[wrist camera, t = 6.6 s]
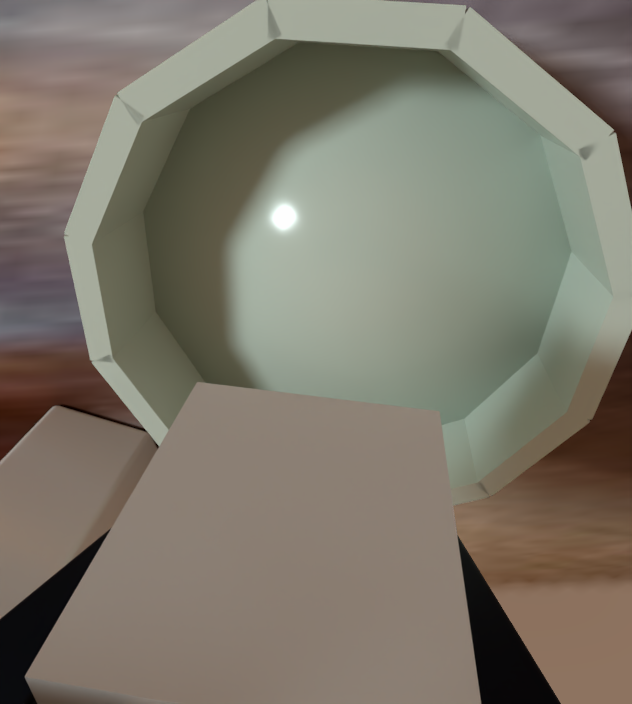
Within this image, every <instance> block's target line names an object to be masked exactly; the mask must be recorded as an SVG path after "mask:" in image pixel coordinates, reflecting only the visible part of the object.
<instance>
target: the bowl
mask: <svg viewBox="0 0 632 704" xmlns="http://www.w3.org/2000/svg"><path fill="white" fill-rule="evenodd" d="M117 94H118V95H115V97H114V99H113V102H112V105H111V107H110V110H109V113H108V116H107V118H106V121H105V124H104V126H103V129H102V132H101V135H100V137H99V140H98V143H97V145H96V148H95V151H94V154H93V156H92V159H91V162H90V164H89V167H88V170H87V172H86V175H85V178H84V181H83V183H82V186H81V189H80V191H79V194H78V197H77V200H76V202H75V205H74V208H73V210H72V213H71V216H70V219H69V221H68V224H67V227H66V229H65V232H64V234H66V235H65V236H64V239H65V244H66V248H67V253H68V258H69V262H70V267H71V272H72V276H73V281H74V286H75V290H76V295H77V300H78V304H79V309H80V314H81V318H82V323H83V328H84V333H85V337H86V342H87V347H88V351H89V356H90V360H93V361H92V364H93V365H94V366H95V367H96V369H97V370H98V371H99V372H100V374H101V375H102V376H103V377H104V379H105V380H106V381H107V382H108V383H109V385H110V386H111V387H112V388H113V390H114V391H115V392H116V393H117V395H118V396H119V397H120V398H121V400H122V401H123V402H124V403H125V405H126V406H127V407H128V408H129V410H130V411H131V412H132V413H133V415H134V416H135V417H136V418H137V419H138V421H139V422H140V423H141V424H142V426H143V427H144V428H145V429H146V431H147V432H148V433H149V434H150V436H151V437H152V438H153V439H154V441H155V442H156V443H157V444H158V446H160V444H161V443H162V441H163V439H164V438H165V436H166V434H167V432H168V431H169V429H170V427H171V426H172V424H173V422H174V421H175V419H176V417H177V415H178V414H179V412H180V410H181V409H182V407H183V405H184V403H185V402H186V400H187V398H188V397H189V395H190V393H191V392H192V390H193V388H194V386H195V385H196V383H197V382H202V383H210V384H218V385H227V386H235V387H243V388H252V389H260V390H268V391H276V392H285V393H293V394H301V395H309V396H318V397H326V398H334V399H342V400H351V401H359V402H367V403H376V404H384V405H392V406H400V407H409V408H417V409H425V410H433V411H440V418H441V425H442V432H443V439H444V446H445V453H446V460H447V467H448V474H449V481H450V488H451V495H452V502H453V506H454V505H458V504H462V503H466V502H471V501H475V500H479V499H484V498H488V497H490V496H489V495H491V496H493V495H494V494H495V493H497V492H498V491H499V490H501V489H502V488H503V487H505V486H506V485H507V484H509V483H510V482H511V481H513V480H514V479H515V478H517V477H518V476H519V475H520V474H522V473H523V472H524V471H526V470H527V469H528V468H530V467H531V466H532V465H534V464H535V463H536V462H538V461H539V460H540V459H542V458H543V457H544V456H546V455H547V454H548V453H550V452H551V451H552V450H554V449H555V448H556V447H558V446H559V445H560V444H562V443H563V442H564V441H566V440H567V439H568V438H570V437H571V436H572V435H574V434H575V433H576V432H578V431H579V430H580V429H582V428H583V427H584V426H586V425H587V424H588V423H589V422H590V420H592V419H593V417H594V414H595V412H596V410H597V407H598V405H599V403H600V401H601V398H602V396H603V394H604V392H605V389H606V387H607V385H608V383H609V380H610V378H611V376H612V373H613V371H614V369H615V367H616V364H617V362H618V360H619V358H620V355H621V353H622V351H623V349H624V346H625V344H626V342H627V340H628V337H629V335H630V333H631V330H632V209H631V205H630V200H629V195H628V190H627V185H626V180H625V175H624V170H623V165H622V160H621V155H620V150H619V145H618V141H617V136H616V133H614V132H613V131H614V129H612V128H611V127H610V126H609V125H608V124H607V123H605V122H604V121H603V120H602V119H601V118H600V117H598V116H597V115H596V114H595V113H594V112H593V111H591V110H590V109H589V108H588V107H587V106H586V105H584V104H583V103H582V102H581V101H580V100H578V99H577V98H576V97H575V96H574V95H573V94H571V93H570V92H569V91H568V90H567V89H566V88H564V87H563V86H562V85H561V84H560V83H559V82H557V81H556V80H555V79H554V78H553V77H552V76H550V75H549V74H548V73H547V72H546V71H544V70H543V69H542V68H541V67H540V66H539V65H537V64H536V63H535V62H534V61H533V60H532V59H530V58H529V57H528V56H527V55H526V54H525V53H523V52H522V51H521V50H520V49H519V48H518V47H516V46H515V45H514V44H513V43H512V42H511V41H509V40H508V39H507V38H506V37H505V36H503V35H502V34H501V33H500V32H499V31H498V30H496V29H495V28H494V27H493V26H492V25H491V24H489V23H488V22H487V21H486V20H485V19H484V18H482V17H481V16H480V15H479V14H478V13H477V12H475V11H474V10H473V9H472V8H471V7H469V8H467V9H466V5H449V4H432V3H414V2H397V1H379V0H256V1H255V2H253V3H252V4H250V5H249V6H247V7H246V8H244V9H243V10H241V11H240V12H238V13H237V14H235V15H234V16H232V17H231V18H229V19H228V20H226V21H225V22H223V23H222V24H220V25H219V26H217V27H216V28H214V29H213V30H211V31H209V32H208V33H206V34H205V35H203V36H202V37H200V38H199V39H197V40H196V41H194V42H193V43H191V44H190V45H188V46H187V47H185V48H184V49H182V50H181V51H179V52H178V53H176V54H175V55H173V56H172V57H170V58H169V59H167V60H166V61H164V62H163V63H161V64H160V65H158V66H157V67H155V68H154V69H152V70H151V71H149V72H148V73H146V74H145V75H143V76H142V77H140V78H139V79H137V80H136V81H134V82H133V83H131V84H130V85H128V86H127V87H125V88H124V89H122V90H121V91H119V92H118V93H117Z"/></svg>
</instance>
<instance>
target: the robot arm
mask: <svg viewBox="0 0 632 704" xmlns="http://www.w3.org/2000/svg"><path fill="white" fill-rule="evenodd" d="M110 530H111V528H110V529H109V530H108V531H107V532H106V533H104V534H103V535H102V536H101V537H99V538H98V539H97V540H96V541H95V542H93V543H92V544H91V545H90V546H88V547H87V548H86V549H85V550H84V551H82V552H81V553H80V554H79V555H77V556H76V557H75V558H74V559H73V560H71V561H70V562H69V563H68V564H66V565H65V566H64V567H63V568H62V569H60V570H59V571H58V572H57V573H55V574H54V575H53V576H52V577H51V578H49V579H48V580H47V581H46V582H44V583H43V584H42V585H41V586H40V587H38V588H37V589H36V590H35V591H33V592H32V593H31V594H30V595H29V596H27V597H26V598H25V599H24V600H22V601H21V602H20V603H19V604H18V605H16V606H15V607H14V608H13V609H11V610H10V611H9V612H8V613H7V614H5V615H4V616H3V617H2V618H0V704H37V702H36V700H35V698H34V696H33V694H32V692H31V690H30V687H29V685H28V683H27V681H26V679H25V675H26V673H27V672H28V670H29V668H30V666H31V665H32V663H33V661H34V660H35V658H36V656H37V654H38V653H39V651H40V649H41V648H42V646H43V644H44V642H45V641H46V639H47V637H48V636H49V634H50V632H51V631H52V629H53V627H54V625H55V624H56V622H57V620H58V619H59V617H60V615H61V613H62V612H63V610H64V608H65V607H66V605H67V603H68V602H69V600H70V598H71V596H72V595H73V593H74V591H75V590H76V588H77V586H78V584H79V583H80V581H81V579H82V578H83V576H84V574H85V572H86V571H87V569H88V567H89V566H90V564H91V562H92V561H93V559H94V557H95V555H96V554H97V552H98V550H99V549H100V547H101V545H102V543H103V542H104V540H105V538H106V537H107V535H108V533H109V532H110ZM457 537H458V535H457ZM458 544H459V551H460V558H461V565H462V572H463V579H464V586H465V593H466V600H467V607H468V614H469V621H470V628H471V635H472V642H473V649H474V656H475V663H476V670H477V677H478V684H479V691H480V698H481V704H561V703H560V702H559V700H558V698H557V697H556V695H555V693H554V692H553V690H552V688H551V687H550V685H549V683H548V682H547V680H546V679H545V677H544V675H543V674H542V672H541V670H540V669H539V667H538V666H537V664H536V662H535V661H534V659H533V657H532V656H531V654H530V652H529V651H528V649H527V648H526V646H525V644H524V643H523V641H522V639H521V638H520V636H519V635H518V633H517V631H516V630H515V628H514V626H513V625H512V623H511V622H510V620H509V618H508V617H507V615H506V613H505V612H504V610H503V609H502V607H501V605H500V604H499V602H498V600H497V599H496V597H495V595H494V594H493V592H492V591H491V589H490V587H489V586H488V584H487V582H486V581H485V579H484V578H483V576H482V574H481V573H480V571H479V569H478V568H477V566H476V565H475V563H474V561H473V560H472V558H471V556H470V555H469V553H468V551H467V550H466V548H465V547H464V545H463V543H462V542H461V540H460V538H459V537H458Z"/></svg>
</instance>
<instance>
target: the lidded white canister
mask: <svg viewBox="0 0 632 704" xmlns="http://www.w3.org/2000/svg"><path fill="white" fill-rule="evenodd" d="M157 450H158V448H157V446H156V444H155V442H154V441H153V439H152V437H151V436H150V434H149V433H148V432H145V431H142V430H139V429H135V428H132V427H129V426H126V425H122V424H119V423H116V422H112V421H109V420H106V419H102V418H99V417H96V416H92V415H89V414H86V413H82V412H79V411H76V410H72V409H69V408H66V407H63V406H58V405H57V406H53V407H52V408H51V409H50V410H49V411H48V412H47V413H46V414H45V415H44V416H43V417H42V418H41V419H40V420H39V421H38V422H37V423H36V424H35V425H34V426H33V427H32V429H31V430H30V431H29V432H28V433H27V434H26V435H25V436H24V437H23V438H22V439H21V440H20V441H19V442H18V443H17V444H16V445H15V446H14V447H13V448H12V449H11V450H10V451H9V452H8V453H7V455H6V456H5V457H4V458H3V459H2V460H1V461H0V618H2V617H3V616H4V615H5V614H7V613H8V612H9V611H10V610H11V609H13V608H14V607H15V606H16V605H18V604H19V603H20V602H21V601H22V600H24V599H25V598H26V597H27V596H29V595H30V594H31V593H32V592H33V591H35V590H36V589H37V588H38V587H40V586H41V585H42V584H43V583H44V582H46V581H47V580H48V579H49V578H51V577H52V576H53V575H54V574H55V573H57V572H58V571H59V570H60V569H62V568H63V567H64V566H65V565H66V564H68V563H69V562H70V561H71V560H73V559H74V558H75V557H76V556H77V555H79V554H80V553H81V552H82V551H84V550H85V549H86V548H87V547H88V546H90V545H91V544H92V543H93V542H95V541H96V540H97V539H98V538H99V537H101V536H102V535H103V534H104V533H106V532H107V531H108V530H109V529H110V528H112V526H113V525H114V523H115V521H116V520H117V518H118V516H119V514H120V513H121V511H122V509H123V508H124V506H125V504H126V502H127V501H128V499H129V497H130V496H131V494H132V492H133V491H134V489H135V487H136V485H137V484H138V482H139V480H140V479H141V477H142V475H143V473H144V472H145V470H146V468H147V467H148V465H149V463H150V462H151V460H152V458H153V456H154V455H155V453H156V451H157Z"/></svg>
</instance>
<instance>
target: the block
mask: <svg viewBox="0 0 632 704" xmlns="http://www.w3.org/2000/svg"><path fill="white" fill-rule="evenodd" d="M25 679H26V681H27V683H28V685H29V687H30V690H31V692H32V694H33V696H34V698H35V700H36V702H37V704H481V698H480V691H479V684H478V677H477V670H476V663H475V656H474V649H473V642H472V635H471V628H470V621H469V614H468V607H467V600H466V593H465V586H464V579H463V572H462V565H461V558H460V551H459V544H458V537H457V530H456V523H455V516H454V509H453V502H452V495H451V488H450V481H449V474H448V467H447V460H446V453H445V446H444V439H443V432H442V425H441V418H440V411H433V410H425V409H417V408H409V407H400V406H392V405H384V404H376V403H367V402H359V401H351V400H342V399H334V398H326V397H318V396H309V395H301V394H293V393H285V392H276V391H268V390H260V389H252V388H243V387H235V386H227V385H218V384H210V383H202V382H197V383H196V385H195V386H194V388H193V390H192V392H191V393H190V395H189V397H188V398H187V400H186V402H185V403H184V405H183V407H182V409H181V410H180V412H179V414H178V415H177V417H176V419H175V421H174V422H173V424H172V426H171V427H170V429H169V431H168V432H167V434H166V436H165V438H164V439H163V441H162V443H161V444H160V446H159V448H158V450H157V451H156V453H155V455H154V456H153V458H152V460H151V462H150V463H149V465H148V467H147V468H146V470H145V472H144V473H143V475H142V477H141V479H140V480H139V482H138V484H137V485H136V487H135V489H134V491H133V492H132V494H131V496H130V497H129V499H128V501H127V502H126V504H125V506H124V508H123V509H122V511H121V513H120V514H119V516H118V518H117V520H116V521H115V523H114V525H113V526H112V528H111V530H110V532H109V533H108V535H107V537H106V538H105V540H104V542H103V543H102V545H101V547H100V549H99V550H98V552H97V554H96V555H95V557H94V559H93V561H92V562H91V564H90V566H89V567H88V569H87V571H86V572H85V574H84V576H83V578H82V579H81V581H80V583H79V584H78V586H77V588H76V590H75V591H74V593H73V595H72V596H71V598H70V600H69V602H68V603H67V605H66V607H65V608H64V610H63V612H62V613H61V615H60V617H59V619H58V620H57V622H56V624H55V625H54V627H53V629H52V631H51V632H50V634H49V636H48V637H47V639H46V641H45V642H44V644H43V646H42V648H41V649H40V651H39V653H38V654H37V656H36V658H35V660H34V661H33V663H32V665H31V666H30V668H29V670H28V672H27V673H26V675H25Z"/></svg>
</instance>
